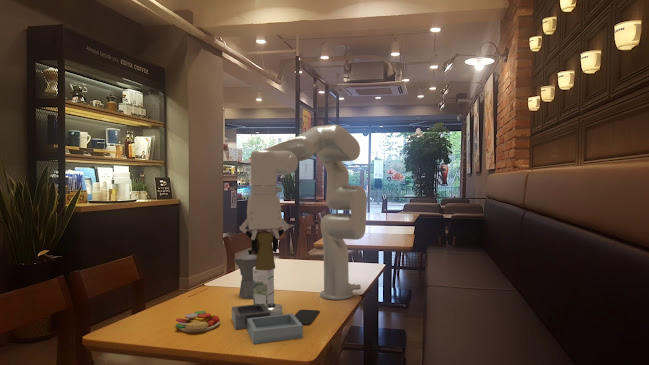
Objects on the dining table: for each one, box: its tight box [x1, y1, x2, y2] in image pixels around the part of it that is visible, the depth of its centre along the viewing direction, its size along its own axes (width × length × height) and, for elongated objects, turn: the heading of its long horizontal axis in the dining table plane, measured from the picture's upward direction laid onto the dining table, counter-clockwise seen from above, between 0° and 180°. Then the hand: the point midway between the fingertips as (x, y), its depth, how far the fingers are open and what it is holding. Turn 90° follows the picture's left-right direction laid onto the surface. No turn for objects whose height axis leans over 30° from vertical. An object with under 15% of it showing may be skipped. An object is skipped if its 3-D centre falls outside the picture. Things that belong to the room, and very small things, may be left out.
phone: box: [294, 309, 321, 327], centre depth 143 cm, size 7×1×15 cm
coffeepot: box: [233, 249, 257, 300], centre depth 171 cm, size 15×9×18 cm, turn 113°
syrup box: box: [252, 267, 275, 305], centre depth 155 cm, size 6×6×14 cm
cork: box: [255, 230, 276, 270], centre depth 132 cm, size 6×6×11 cm
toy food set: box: [175, 310, 221, 334], centre depth 136 cm, size 13×13×3 cm
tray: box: [246, 313, 304, 345], centre depth 128 cm, size 14×12×4 cm
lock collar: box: [231, 302, 283, 330], centre depth 142 cm, size 17×15×4 cm
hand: (265, 251), depth 132 cm, fingers closed on cork, 5 cm apart
